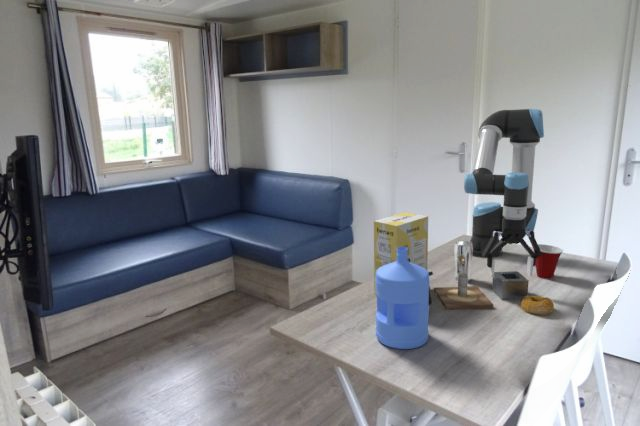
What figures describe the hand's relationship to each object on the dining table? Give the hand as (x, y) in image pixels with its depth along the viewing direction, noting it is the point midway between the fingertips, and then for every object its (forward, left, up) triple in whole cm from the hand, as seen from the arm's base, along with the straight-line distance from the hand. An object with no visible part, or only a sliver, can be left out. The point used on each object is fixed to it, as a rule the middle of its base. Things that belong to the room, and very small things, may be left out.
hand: (510, 275), depth 159 cm
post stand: (+3, -18, -7) cm, 20 cm away
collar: (0, 0, -8) cm, 7 cm away
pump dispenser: (+11, -36, -8) cm, 38 cm away
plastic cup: (-16, +21, -8) cm, 28 cm away
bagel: (+12, +4, -8) cm, 15 cm away
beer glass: (-16, -12, -8) cm, 22 cm away
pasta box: (-7, -38, -8) cm, 39 cm away
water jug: (+28, -44, -8) cm, 52 cm away
